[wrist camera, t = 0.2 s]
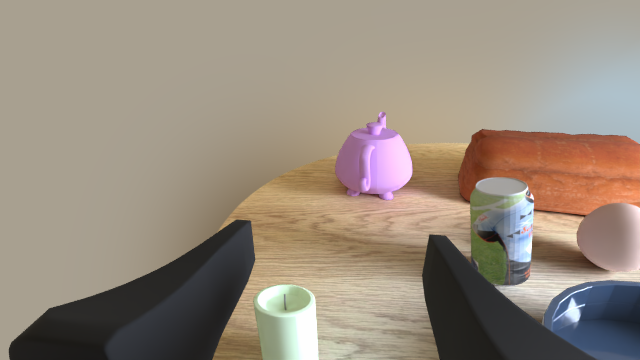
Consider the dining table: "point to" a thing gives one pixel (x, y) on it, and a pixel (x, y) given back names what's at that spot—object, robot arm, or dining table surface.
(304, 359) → the candle
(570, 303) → the bowl
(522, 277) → the beverage can
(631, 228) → the egg
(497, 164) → the bread
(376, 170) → the teapot
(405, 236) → the dining table surface
